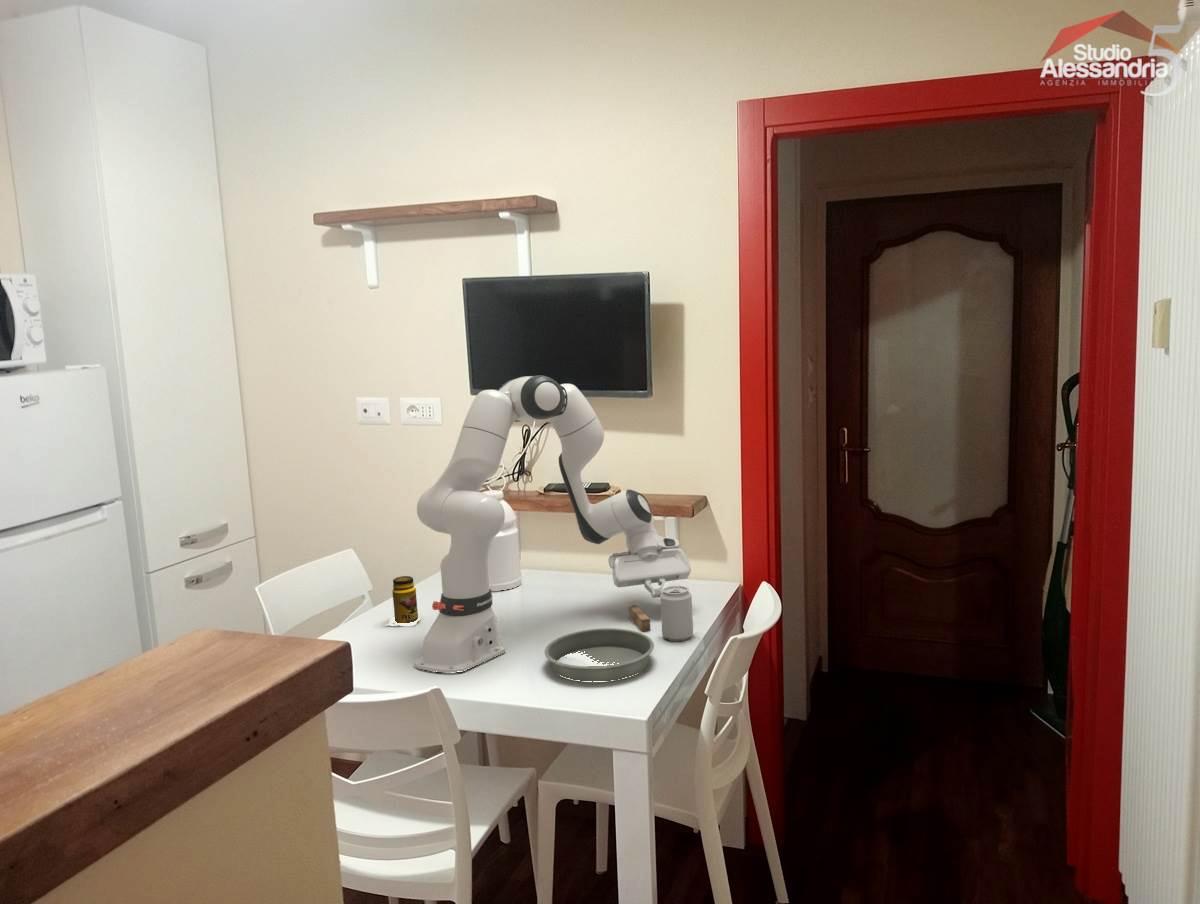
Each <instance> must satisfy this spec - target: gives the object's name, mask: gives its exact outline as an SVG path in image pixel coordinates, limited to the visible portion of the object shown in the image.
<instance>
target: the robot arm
mask: <svg viewBox="0 0 1200 904" xmlns="http://www.w3.org/2000/svg"><path fill="white" fill-rule="evenodd" d="M541 420H542V421H543V420H544V421H545V420H547V421H548V422H549V423H550V424H551V425H552V427H553V429H554V431H555V433H556V435H557V437H558V438H559V441H560V444H561V453H560V454H559V456H558V466H559V470H560V473H561V477H562V480H563V483H564V486H565V489H566V492H567V494H568V497H569V500H570V503H571V506H572V508H573V511H574V515H575V519H576V522H577V525H578V530H579V532H580V534H581V536H582V538H583V539H584V540H585V541H586V542H589V543H591V544H595V545H601V544H602V543H604V542H606V541H608V540H610V539H611V538H613V537H614V536H617V535H619V534H622V533H623V534H624V535H625V539H626V540H625V545H626V548H627V551H622V552H615V553H612V555H610V556H609V557H608V559H607V560H608V564H609V567H610V569H611V570H612V580H613V584H614V586H615V587H617V588H625V587H633V586H641V585H642V586H643V585H644V588H645V589H646V590H647V591H648V592H649V593H650V595H651V598H652V599H654V598H655V599H656V598H660V595H661V594H662V593H663V589H664V587H665V583H666V582H671V581H680V580H686V579H689V577H690V574H691V572H692V567H691V565H690V562H689V559H688V557H687V555H686V553H685V551H684V550H683V549H682V548H680V541H679V540H678V539H676V538H672V537H665V536H662V535H659V533H658V531H657V530H656V523H655V518H654V514H653V512H652V509H651V505H650V503H649V501H648V500H647V498H646V497H645V496H644V495H643V494H642V493H640V492H638V491H636V490H633V489H630V488H629V489H626V490H622V491H620V492H618V493H616V494H613V495H611V496H610V497H607V498H606V499H603V500H601V501H598V502H597V503H591V502H590V500H589V497H588V494H587V492H586V488H585V486H584V484H583V481H582V477H581V476H582V475H581V474H582V471H583V470H584V468H585V467H586V466H587V464H588V463H590V462H591V461H592V460H593V458H594V457H595V456H596V455H597V454H598V452H599V451H600V450H601V448H602V447H603V446H602V445H603V443H604V440H605V431H604V428H603V426H602V423H601V421H600V419H599V417H598V416H597V413H596V411H595V410H594V408H593V407H592V406H591V404H590V402H589V401H588V399H587V398H586V396H585V395H584V394H583V393H582V392H581V390H580V389H579V388H578V387H577V386H576V385H575V384H572V383H561V384H559V382H558V381H557V380H555V379H553V378H552V377H549V376H546V375H542V374H541V375H539V374H538V375H537V374H536V375H534V376H533V375H530V376H529V375H527V376H520V377H518V378H514V379H510V380H508V381H506V382H505V383H503V384H502V385H501V386H500V387H499V388H498V389H485V390H481V391H480V392H479V393H478V394H476V396H475V397H474V399H473V401H472V403H471V404H470V408H469V409H468V412H467V413H466V416H465V419H464V421H463V423H462V426H461V430H460V433H459V436H458V438H457V442H456V445H455V447H454V450H453V451H454V452H452V456H451V459H450V460H449V462H448V464H447V466H446V468H445V469H444V471H443V472H442V473H441V475H440V476H439V478H438V479H437V481H436V482H435V483H434V484H433V485H432V486H431V487H430V488H428V489H427V490H425V491H424V492H423V493H422V494H421V495H420V496H419V498H418V502H417V503H416V513H417V514H416V515H417V517H418V519H419V521H420V522H421V523H422V524H423V525H425V526H426V527H427V528H429V529H431V530H433V531H435V532H437V533H441V534H447V535H450V547H449V551H448V553H447V554H446V555H444V557H443V558H442V559H441V561H440V576H441V588H442V589H441V590H442V593H441V595H440V600H439V601H438V600H437V601H436V600H434V601H433V602H432V604H431V607H432V610H434V611H439V613H438V615H437V617H436V619H435V620H434V622H433V623H432V625H431V627H430V629H429V630H428V632H427V634H426V635H425V636H424V640H423V654H421V655H420V656H418V657H417V658H416V659H415V661H414V662H413V667H414V666H415V668H416V667H417V668H416V669H418V668H419V669H418V670H420V669H423V670H422V671H424V670H428V671H427V672H429V671H435V672H436V671H437V672H457V671H464V670H466V669H468V668H471V667H473V666H476V665H478V664H480V663H482V662H484V661H487V660H489V659H491V658H493V657H495V658H497V657H499V656H501V655H503V654H505V653H506V647H505V646H503V645H502V642H501V637H500V630H499V629H500V628H499V623H498V620H497V616H496V615H495V613H494V612H493V608H492V605H493V594H492V591H491V589H490V588H489V575H488V555H489V550H490V546H491V543H492V540H493V538H494V537H495V536H496V535H497V534H498V533H499V532H500V530H501V529H502V527H503V524H504V520H505V512H504V508H503V506H502V504H501V503H500V502H499V501H498V500H497V499H495V498H493V497H491V496H489V495H487V494H485V493H482V492H483V491H479V490H480V489H481V487H483V485H484V483H486V482H487V481H488V480H489V479H490V478H492V477H494V475H496V474H497V471H498V470H499V466H500V464H501V460H502V457H503V455H504V451H505V448H506V444H507V441H508V437H509V434H510V430H511V428H512V426H513V424H514V423H519V422H528V423H529V422H531V423H532V422H537V421H541ZM651 584H658V585H657V586H660V587H659V588H654V587H653V585H651ZM504 652H505V653H504ZM502 653H503V654H502ZM500 654H501V655H500ZM498 655H499V656H498ZM496 656H497V657H496ZM493 659H494V658H493ZM491 660H492V659H491ZM489 661H490V660H489ZM487 662H488V661H487ZM484 663H485V662H484ZM482 664H483V663H482ZM480 665H481V664H480ZM478 666H479V665H478ZM476 667H477V666H476ZM435 672H434V673H435Z"/></svg>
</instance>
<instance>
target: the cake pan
mask: <svg viewBox="0 0 1200 904" xmlns="http://www.w3.org/2000/svg"><path fill="white" fill-rule="evenodd" d="M654 643H655V642H654V641H653V639H652V638H651V637H649V636H648V635H646V634H644V633H642V632H639V631H635V630H631V629H626V628H616V627H615V628H611V627H610V628H609V627H606V628H605V627H604V628H603V627H602V628H591V629H583V630H578V631H574V632H571V633H568V634H564V635H562V636H559V637H557V638H555V639H553V640H551V642H549V643H548V644H547V645H546V646H545V649H544V656H545V658H546V659H547V660H548V661H549V662H550V663H551V665H552V668H553V671H554V670H555V671H554V672H556V673H557V674H559V675H561V676H563V677H566V678H570V679H573V680H580V681H592V682H593V681H611V680H618V679H622V678H625V677H629V676H632V675H635V674H637V673H639V672H641V671H642V670H643V671H645V670H646V668H647V667H648V665H649V658H650V655H651V654H652V653H653V651H654V649H655V644H654ZM578 651H580V652H578ZM584 651H585V653H584ZM576 652H578V653H581V652H583V654H588V655H586V656H587V657H589V656H592V657H590V659H593V658H595V659H593V660H594V661H597V660H599V661H597V662H598V663H600V662H604V663H602V664H603V665H604V664H606V663H607V662H609V663H607V664H609V665H607V666H587V665H586V666H585V665H584V666H582V665H574V664H573V665H572V664H568V663H563V662H561V661H560V660H561V659H562V658H561V657H563V656H565V655H567V654H570V653H572V654H573V653H576ZM583 654H581V655H583ZM560 658H561V659H560ZM563 658H564V657H563ZM559 659H560V660H559ZM557 660H558V661H557ZM594 661H592V662H594ZM613 662H615V663H613ZM598 663H597V664H598ZM612 663H613V664H614V665H610V664H612ZM617 663H619V664H617ZM646 666H647V667H646ZM643 671H642V672H643ZM642 672H641V673H642ZM556 673H555V674H556ZM557 674H556V675H557ZM639 674H640V673H639ZM559 675H558V676H559ZM637 675H638V674H637ZM635 676H636V675H635Z"/></svg>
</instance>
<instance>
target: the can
mask: <svg viewBox="0 0 1200 904" xmlns="http://www.w3.org/2000/svg"><path fill="white" fill-rule="evenodd" d="M659 598H660V617H661V634H662V636H663V637H664V638H665V639H666V640H668V641H672V642H683V641H686V640H689V639H690V637H692V635H694V626H693V625H694V624H693V622H694V621H693V619H692V618H693V601H692V593H691V592H690V591H689V588H688V587H687V586H683V585H670V586H666V587H663V593H662V594H661V595H660V597H659Z"/></svg>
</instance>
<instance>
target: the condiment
mask: <svg viewBox="0 0 1200 904" xmlns="http://www.w3.org/2000/svg"><path fill="white" fill-rule="evenodd" d="M392 584H393V585H392V587H393V589H392V590H391V592H392V601H393V612H394V615H393V616H394V617H395V621H396V622H397V623H410V622H414V621H416V620H417V619H418V617H419V613H418V612H419V610H418V602H417V600H418V599H417V590H416V587H415V583H414V577H413V576H410V575H403V576H397V577H395V578H394V579H392Z"/></svg>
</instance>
